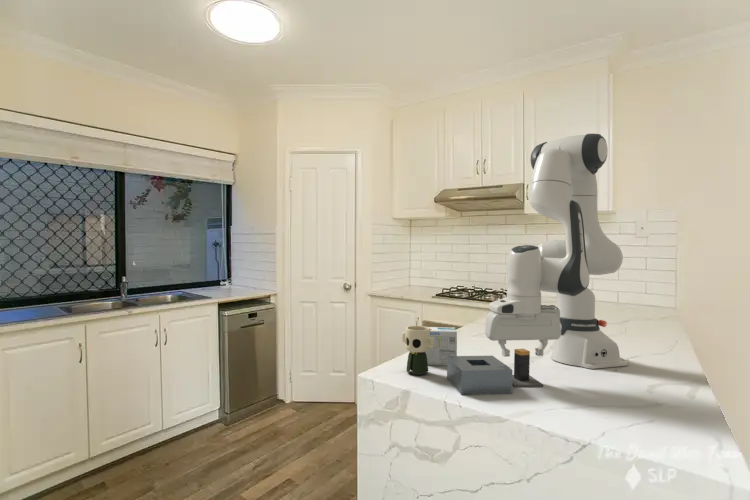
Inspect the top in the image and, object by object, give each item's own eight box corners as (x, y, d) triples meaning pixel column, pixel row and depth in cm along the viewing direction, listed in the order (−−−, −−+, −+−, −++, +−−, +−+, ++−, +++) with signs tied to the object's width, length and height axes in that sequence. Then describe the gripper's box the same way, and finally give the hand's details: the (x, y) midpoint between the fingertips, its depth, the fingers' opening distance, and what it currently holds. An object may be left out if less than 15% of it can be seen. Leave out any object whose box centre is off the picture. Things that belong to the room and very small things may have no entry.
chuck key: (529, 380, 111) (529, 351, 111) (520, 381, 110) (520, 351, 110) (522, 377, 113) (523, 348, 113) (513, 378, 113) (514, 349, 113)
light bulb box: (455, 360, 131) (455, 326, 131) (457, 366, 125) (457, 331, 125) (421, 359, 133) (422, 325, 132) (422, 365, 126) (422, 330, 126)
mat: (528, 376, 116) (528, 374, 116) (542, 386, 108) (542, 384, 108) (501, 377, 115) (501, 375, 115) (513, 387, 107) (513, 384, 107)
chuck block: (485, 371, 120) (485, 350, 120) (512, 393, 102) (512, 369, 102) (442, 372, 119) (442, 351, 119) (461, 394, 101) (461, 370, 101)
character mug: (394, 371, 119) (395, 327, 118) (409, 366, 124) (409, 323, 124) (426, 380, 112) (426, 332, 111) (440, 374, 117) (440, 328, 117)
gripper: (554, 303, 115) (552, 351, 116) (483, 303, 113) (482, 353, 114) (566, 306, 109) (565, 358, 110) (492, 307, 107) (491, 359, 108)
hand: (522, 355), depth 112 cm, fingers open, 8 cm apart
